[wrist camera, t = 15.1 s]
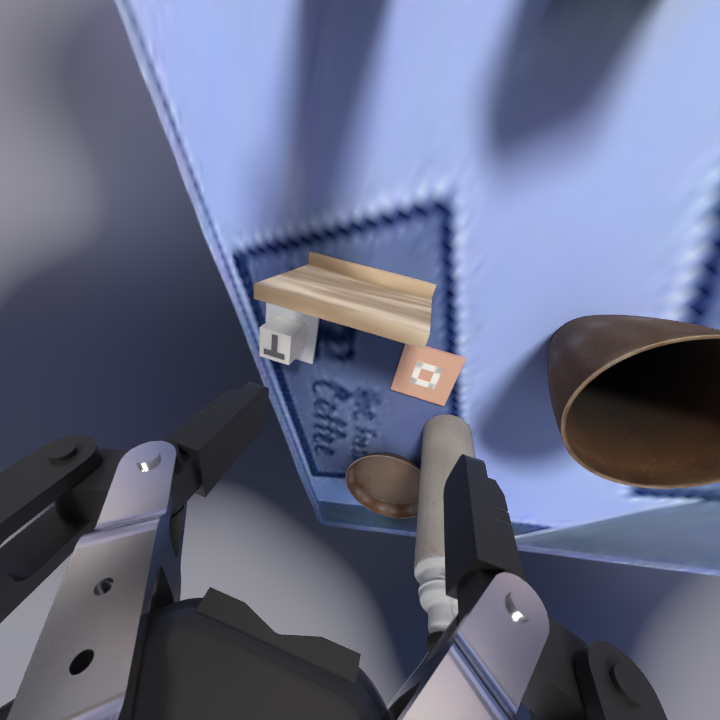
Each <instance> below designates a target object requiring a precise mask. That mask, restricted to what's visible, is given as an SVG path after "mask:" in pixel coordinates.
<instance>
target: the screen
mask: <svg viewBox="0 0 720 720" xmlns="http://www.w3.org/2000/svg"><path fill="white" fill-rule="evenodd" d="M435 288H436V284H433V283H429V282H426V281H422V280H418V279H414V278H410V277H407V276H403V275H399V274H395V273H392V272H388V271H384V270H380V269H376V268H373V267H369V266H365V265H361V264H358V263H354V262H350V261H346V260H342V259H339V258H335V257H331V256H327V255H324V254H320V253H316V252H312V251H311V252H309V260H308V265H305V266H302V267H299V268H297V269H294V270H291V271H288V272H285V273H282V274H280V275H277V276H274V277H271V278H268V279H265V280H263V281H260V282H257V283H254V299H256V300H260V301H263V302H266V303H270V304H273V305H276V306H280V307H283V308H287V309H290V310H293V311H297V312H300V313H304V314H307V315H310V316H314V317H317V318H321V319H324V320H327V321H331V322H334V323H337V324H341V325H344V326H348V327H351V328H354V329H358V330H361V331H365V332H368V333H371V334H375V335H378V336H382V337H385V338H388V339H392V340H395V341H398V342H402V343H405V344H409V345H412V346H415V347H419V348H422V349H424V348H425V345H426V343H427V340H428V337H429V335H430V321H431V305H432V296H433V294H434V291H435Z"/></svg>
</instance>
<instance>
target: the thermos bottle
mask: <svg viewBox="0 0 720 720" xmlns="http://www.w3.org/2000/svg"><path fill="white" fill-rule="evenodd" d="M462 454H464V455H467V456H470V457H473V458H476V457H475V451H474V444H473V438H472V432H471V429H470V427H469V425H468V424H467V423H466V422H465V421H464V420H463V419H461V418H459V417H456V416H453V415H445V414H444V415H438V416H435V417H433V418H431V419H430V420H428V421H427V422H426V424H425V426H424V429H423V441H422V457H421V472H420V487H419V503H418V518H417V533H416V549H415V564H414V574H415V577H416V579H417V581H418V582H419V584H420V587H419V591H418V592H419V596H420V603H421V605H422V607H423V608H424V610H425V611H426V612H427V613H428V629H429V632H430V634H429V635H428V637H427V649H428V651H430V650H431V649H432V647H433V646H434V644H435V643H436V642H437V640H438V639H439V638H440V636H441V635H442V633H443V632H444V631H445V629H446V628H447V626H448V625H449V624H450V622H451V621H452V620H453V618H454V617H455V615H456V614H457V613H458V600H457V599H454V598H452V597H449V596H447V595H446V591H445V547H444V503H443V492H444V486H445V482H446V480H447V478H448V476H449V474H450V473H451V471H452V469H453V467H454V466H455V464H456V462H457V461H458V459H459V457H460V456H461V455H462Z"/></svg>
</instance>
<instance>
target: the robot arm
mask: <svg viewBox="0 0 720 720" xmlns="http://www.w3.org/2000/svg"><path fill="white" fill-rule="evenodd" d="M268 396H269V390H268V388H267V387H265V386H262V385H259V384H256V383H253V382H248V383H247V384H245V385H244V386H243V387H242V388H241V389H240V390H238V391H236V390H231V391H228V392H226V393H224V394H221V395H219V396H218V397H217V398H216V399H214V400H213V401H212V402H211V403H210V404H209V405H207V406H206V407H205V408H203V409H202V410H201V412H198V413H197V414H196V415H195V416H193V418H191V419H190V420H189V421H187V422H186V423H185V424H184V425H182V426H181V427H180V428H179V429H177V430H176V431H175V432H174V433H172V434H171V435H170V436H169V437H168V438H166V439H165V440H164V441H152V442H148V443H144V444H141V445H139V446H137V447H135V448H133V449H132V450H130V451H124V450H106V449H99V448H98V446H97V443H96V441H95V440H94V439H93V438H91V437H89V436H83V435H76V436H69V437H64V438H61V439H58V440H55V441H52V442H50V443H48V444H46V445H44V446H43V447H41V448H40V449H38V450H37V451H34V452H33V453H31V454H30V455H28V456H26V457H25V458H23V459H22V460H20V461H18V462H17V463H15V464H13V465H12V466H10V467H9V468H7V469H5V470H4V471H2V472H1V473H0V545H1V544H2V543H3V542H4V541H5V540H6V539H7V538H8V537H9V536H11V535H12V534H13V533H14V532H16V531H17V530H18V529H20V528H21V527H22V526H23V525H25V524H26V523H27V522H28V521H30V520H31V519H32V518H33V517H35V516H36V515H37V514H38V513H40V512H41V511H42V510H43V509H45V508H46V507H47V506H49V505H50V504H51V505H52V507H51V508H50V509H49V510H48V511H46V512H45V513H44V514H42V515H41V516H40V517H39V518H37V519H36V520H35V521H34V522H32V523H31V524H30V525H29V526H27V527H26V528H25V529H24V530H22V531H21V532H20V533H19V534H17V535H16V536H15V537H14V538H12V539H11V540H10V541H9V542H7V543H6V544H5V545H4V546H2V547H1V548H0V623H1V622H2V621H3V620H4V619H5V618H6V617H7V616H8V615H9V614H10V613H11V612H12V611H13V610H14V609H15V608H16V607H17V606H18V605H19V604H20V603H21V602H22V601H23V600H24V599H25V598H26V597H27V596H29V595H30V593H32V592H33V591H34V590H35V588H37V587H38V586H39V585H40V584H41V583H42V582H43V581H44V580H45V579H46V578H47V577H48V576H49V575H50V574H51V573H52V572H53V571H54V570H55V569H56V568H57V567H58V566H59V565H60V564H61V563H62V562H63V561H64V560H65V559H66V558H67V557H68V556H69V555H70V554H71V553H72V552H73V554H72V556H71V559H70V561H69V564H68V566H67V569H66V571H65V574H64V576H63V579H62V582H61V584H60V587H59V590H58V592H57V594H56V597H55V599H54V602H53V604H52V607H51V609H50V612H49V614H48V617H47V619H46V622H45V624H44V627H43V630H42V632H41V635H40V637H39V640H38V642H37V645H36V647H35V650H34V652H33V655H32V657H31V660H30V662H29V665H28V667H27V670H26V672H25V675H24V678H23V680H22V683H21V685H20V688H19V691H18V693H17V695H16V698H15V699H13V700H12V701H10V702H9V703H7V704H6V705H4V706H2V707H1V708H0V720H516V712H517V709H518V706H519V704H520V702H522V703H523V704H524V705H525V706H526V707H528V708H529V711H530V718H531V720H667V718H666V715H665V713H664V710H663V708H662V706H661V704H660V701H659V699H658V697H657V695H656V693H655V691H654V689H653V688H652V686H651V684H650V683H649V681H648V680H647V678H646V677H645V675H644V674H643V673H642V672H641V670H640V669H639V668H638V667H637V666H636V664H635V663H634V662H633V661H632V660H631V659H630V658H629V657H628V656H627V655H626V654H624V653H623V652H622V651H621V650H619V649H618V648H616V647H615V646H613V645H611V644H610V643H607V642H604V641H595V642H593V643H591V644H589V645H588V644H586V643H584V641H582V640H581V639H579V638H578V637H577V636H575V635H574V634H573V633H571V632H570V631H569V630H567V629H566V628H565V627H563V626H562V625H561V624H559V623H558V622H557V621H555V620H554V619H553V618H552V617H551V616H549V615H548V614H547V612H546V610H545V607H544V605H543V603H542V602H541V600H540V598H539V597H538V595H537V594H536V592H535V591H534V590H533V589H532V588H531V587H530V586H529V585H528V584H527V583H526V581H525V578H524V575H523V570H522V566H521V562H520V558H519V554H518V550H517V546H516V542H515V537H514V533H513V529H512V526H511V525H510V523H511V521H510V517H509V513H507V511H508V509H507V504H506V500H505V496H504V494H503V492H502V491H501V489H500V487H499V486H498V484H497V482H496V481H495V480H493V479H490V478H488V476H487V471H486V466H485V463H484V461H482V460H479V459H476V458H473V457H470V456H467V455H464V454H462V455H461V456H460V457H459V459H458V461H457V462H456V464H455V466H454V467H453V469H452V471H451V473H450V474H449V476H448V478H447V480H446V482H445V486H444V492H443V503H444V547H445V591H446V595H447V596H449V597H452V598H454V599H457V600H458V613H457V614H456V615H455V617H454V618H453V620H452V621H451V622H450V624H449V625H448V626H447V628H446V629H445V631H444V632H443V633H442V635H441V636H440V638H439V639H438V640H437V642H436V643H435V644H434V646H433V647H432V649H431V650H430V651H429V653H428V654H427V655H426V657H425V658H424V660H423V661H422V662H421V664H420V665H419V666H418V668H417V669H416V670H415V672H414V673H413V674H412V675H411V676H410V677H409V678H408V680H407V681H406V682H405V683H404V685H403V686H402V687H401V688H400V690H399V691H398V692H397V694H396V695H395V696H394V698H393V699H392V701H391V702H390V703H389V705H388V706H387V707H386V705H385V703H384V701H383V699H382V697H381V695H380V694H379V692H378V690H377V689H376V687H375V685H374V684H373V682H372V681H371V680H370V679H369V677H368V676H367V675H366V674H365V672H364V671H363V670H361V669H360V668H359V667H358V666H359V660H360V654H359V653H357V652H355V651H352V650H350V649H348V648H345V647H343V646H341V645H339V644H336V643H334V642H332V641H330V640H328V639H325V638H323V637H315V636H298V635H281V634H277V633H275V632H274V631H273V630H272V629H271V628H270V627H269V626H268V625H267V624H266V623H265V622H264V621H263V620H262V619H261V618H260V617H259V616H258V615H257V614H256V613H255V612H254V611H253V610H252V609H251V608H250V607H249V606H248V605H247V604H246V603H244V602H242V601H240V600H238V599H235V598H233V597H230V596H229V595H226V594H224V593H222V592H220V591H217V590H215V589H213V588H211V587H210V588H209V590H208V591H207V593H206V595H205V596H204V598H192V599H186V600H182V601H180V594H181V555H182V546H183V536H184V528H185V519H186V510H187V501H188V500H189V499H190V497H191V496H192V495H193V494H194V493H196V494H199V495H201V496H204V497H206V496H207V495H208V493H209V492H210V491H211V490H212V489H213V487H214V486H215V485H216V484H217V483H218V481H219V480H220V479H221V478H222V476H223V475H224V474H225V473H226V472H227V470H228V469H229V468H230V467H231V466H232V464H233V463H234V462H235V461H236V460H237V459H238V457H239V456H240V455H241V454H242V452H243V451H244V450H245V449H246V448H247V446H248V445H249V444H250V443H251V442H252V440H253V439H254V438H255V437H256V436H257V434H258V433H259V432H260V431H261V430H262V428H263V427H264V425H265V423H266V420H267V416H268Z"/></svg>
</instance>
